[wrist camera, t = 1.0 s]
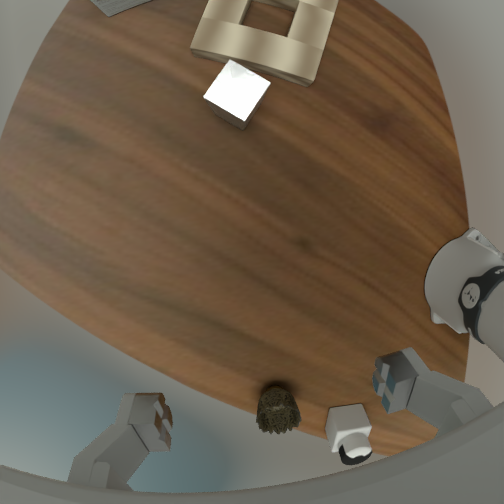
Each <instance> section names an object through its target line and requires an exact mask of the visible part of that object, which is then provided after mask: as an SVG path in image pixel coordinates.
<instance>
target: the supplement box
mask: <svg viewBox="0 0 504 504" xmlns="http://www.w3.org/2000/svg"><path fill="white" fill-rule="evenodd" d="M90 1H92V2H93V3H94V4H95V5H96V6H97V7H98V8H99V9H100V10H101V11H102V12H104V13H105V14H106V15H107V16H108V17H110V16H112V15H114V14H117V13H119V12H122V11H124V10H127V9H129V8H132V7H134V6H137V5H140V4H142V3H145V2H148V1H151V0H90Z"/></svg>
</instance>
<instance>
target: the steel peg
mask: <svg viewBox="0 0 504 504" xmlns="http://www.w3.org/2000/svg"><path fill="white" fill-rule="evenodd" d="M269 86H270V82H269V81H267V80H265V79H264V78H262V77H260V76H259V75H257V74H255V73H253V72H252V71H250V70H248V69H246V68H245V67H243V66H241V65H239V64H237V63H236V62H234V61H232V60H229V61H228V63H227V64H226V65H225V67H224V68H223V69H222V71H221V72H220V74H219V75H218V77H217V78H216V79H215V81H214V82H213V84H212V85H211V87H210V88H209V90H208V91H207V92H206V94H205V95H204V99H205V100H206V102H207V103H208V105H209V106H210V108H211V109H212V111H213V112H214V114H215V115H217V116H219V117H220V118H222V119H224V120H225V121H227V122H229V123H231V124H232V125H234V126H236V127H237V128H239V129H241V130H242V131H243V130H244V129H245V127H246V126H247V124H248V123H249V121H250V120H251V118H252V117H253V115H254V114H255V112H256V111H257V109H258V108H259V106H260V105H261V103H262V101H263V98H264V96H265V94H266V92H267V90H268V88H269Z"/></svg>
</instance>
